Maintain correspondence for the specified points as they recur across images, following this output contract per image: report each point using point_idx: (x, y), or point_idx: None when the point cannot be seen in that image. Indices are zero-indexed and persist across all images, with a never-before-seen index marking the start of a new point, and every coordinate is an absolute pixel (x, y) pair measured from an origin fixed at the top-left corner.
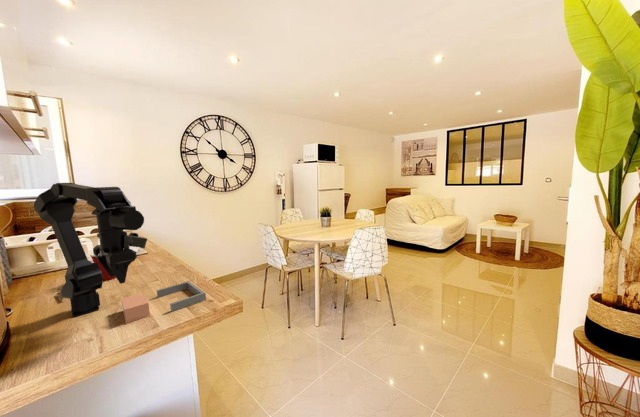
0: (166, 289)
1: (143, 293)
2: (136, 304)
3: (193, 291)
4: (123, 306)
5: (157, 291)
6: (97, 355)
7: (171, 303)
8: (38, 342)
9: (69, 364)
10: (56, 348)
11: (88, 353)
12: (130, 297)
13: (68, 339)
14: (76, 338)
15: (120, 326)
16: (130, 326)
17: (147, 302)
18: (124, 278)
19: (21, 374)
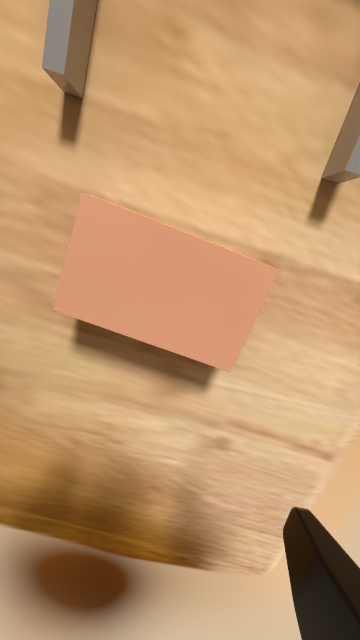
0: (78, 3)
1: (98, 199)
2: (228, 313)
3: None
4: (174, 351)
5: (66, 77)
6: (334, 467)
7: (355, 165)
8: (83, 505)
9: None
10: (173, 496)
11: (296, 473)
12: (88, 277)
13: (147, 468)
14: (164, 457)
15: None
16: (265, 347)
17: (268, 270)
18: (346, 567)
19: (228, 556)
